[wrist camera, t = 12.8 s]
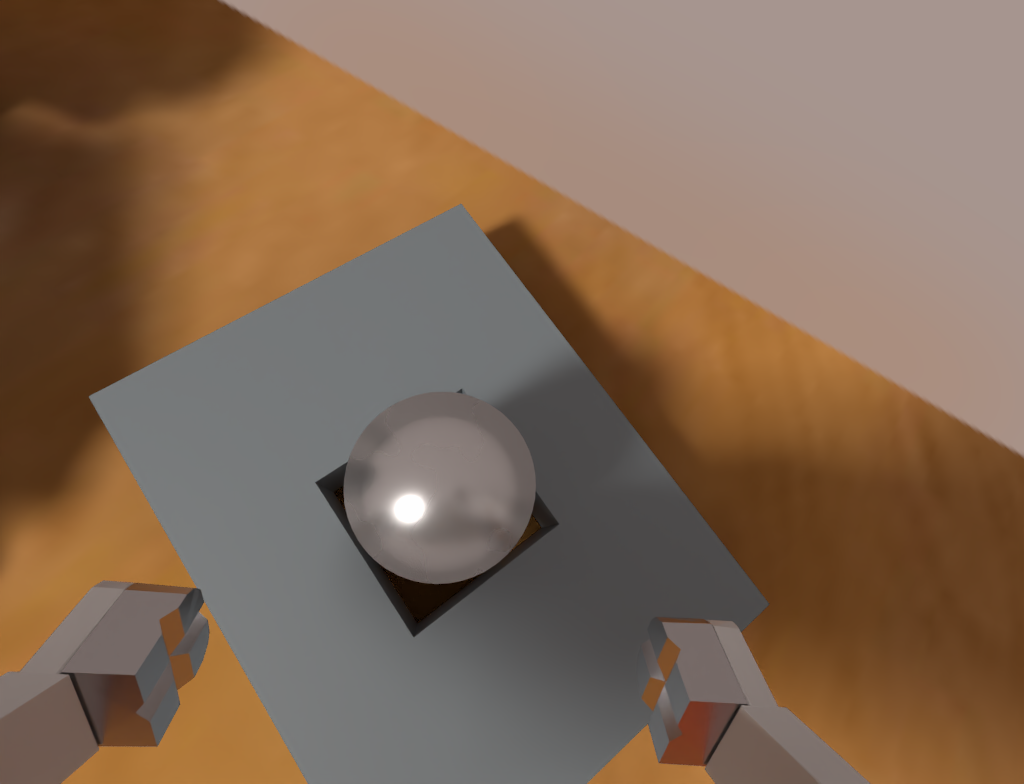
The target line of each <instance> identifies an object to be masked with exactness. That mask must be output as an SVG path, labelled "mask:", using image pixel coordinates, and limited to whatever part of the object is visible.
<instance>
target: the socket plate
mask: <svg viewBox="0 0 1024 784" xmlns="http://www.w3.org/2000/svg"><path fill="white" fill-rule="evenodd" d="M430 392H454V393H461V394H465V395H469V396H472V397H475V398H477V399H480V400H482V401H484V402H486V403H488V404H490V405H491V406H493V407H494V408H496V409H497V410H499V411H500V412H501V413H503V414H504V415H505V416H506V417H507V418H508V419H509V420H510V421H511V422H512V423H513V425H514V426H515V427H516V428H517V429H518V431H519V432H520V434H521V435H522V437H523V439H524V440H525V442H526V445H527V447H528V449H529V451H530V454H531V457H532V460H533V465H534V470H535V478H536V492H535V501H534V506H533V511H532V514H533V516H534V517H535V519H536V520H537V521H538V523H539V524H540V526H541V527H542V528H541V529H539V530H538V531H537V532H535V533H534V534H533V535H532V536H530V537H529V538H528V539H526V540H525V541H524V542H522V543H521V544H520V545H519V546H517V547H516V548H515V549H513V550H512V551H511V552H510V553H508V554H507V555H506V556H505V557H504V558H503V559H502V560H501V561H500V562H498V563H497V564H496V565H494V566H493V567H491V568H490V569H488V570H487V571H485V572H484V573H482V574H481V575H480V576H478V577H477V578H476V579H475V580H473V581H472V582H471V583H469V584H468V585H467V586H465V587H464V588H463V589H462V590H460V591H459V592H458V593H456V594H455V595H454V596H452V597H451V598H450V599H449V600H447V601H446V602H445V603H443V604H442V605H441V606H440V607H438V608H437V609H436V610H434V611H433V612H432V613H430V614H429V615H428V616H427V617H425V618H424V619H423V620H421V621H420V622H419V623H417V622H416V621H415V619H414V617H413V616H412V614H411V613H410V611H409V610H408V608H407V606H406V605H405V603H404V602H403V600H402V599H401V597H400V595H399V594H398V592H397V591H396V589H395V588H394V586H393V584H392V583H391V581H390V580H389V578H388V577H387V575H386V574H385V572H384V570H383V569H382V567H381V566H380V564H379V563H378V562H376V561H375V560H374V559H373V558H372V557H371V556H370V555H369V554H368V553H367V552H366V551H365V549H364V548H363V547H362V545H361V544H360V543H359V541H358V540H357V538H356V536H355V534H354V532H353V530H352V528H351V525H350V523H349V520H348V517H347V513H346V511H345V509H344V508H343V506H342V505H341V503H340V501H339V500H338V498H337V497H336V495H335V494H334V492H335V491H336V490H338V489H339V488H341V487H342V486H344V477H345V472H346V466H347V463H348V460H349V457H350V454H351V452H352V450H353V448H354V446H355V443H356V442H357V440H358V438H359V437H360V435H361V434H362V432H363V431H364V430H365V429H366V427H367V426H368V425H369V424H370V423H371V422H372V421H373V420H374V419H375V418H376V417H377V416H378V415H379V414H380V413H382V412H383V411H385V410H386V409H387V408H389V407H390V406H392V405H394V404H396V403H398V402H399V401H401V400H404V399H406V398H409V397H412V396H415V395H419V394H423V393H430ZM89 398H90V400H91V402H92V403H93V405H94V407H95V409H96V411H97V412H98V414H99V416H100V418H101V419H102V421H103V423H104V425H105V426H106V428H107V430H108V432H109V433H110V435H111V437H112V439H113V441H114V442H115V444H116V446H117V448H118V449H119V451H120V453H121V455H122V456H123V458H124V460H125V462H126V463H127V465H128V467H129V469H130V471H131V472H132V474H133V476H134V478H135V479H136V481H137V483H138V485H139V486H140V488H141V490H142V492H143V493H144V495H145V497H146V499H147V501H148V502H149V504H150V506H151V508H152V509H153V511H154V513H155V515H156V516H157V518H158V520H159V522H160V523H161V525H162V527H163V529H164V531H165V532H166V534H167V536H168V538H169V539H170V541H171V543H172V545H173V546H174V548H175V550H176V552H177V553H178V555H179V557H180V559H181V561H182V562H183V564H184V566H185V568H186V569H187V571H188V573H189V575H190V576H191V578H192V580H193V582H194V583H195V585H196V587H197V589H201V592H202V596H203V599H204V601H205V603H206V605H207V606H208V608H209V610H210V612H211V613H212V615H213V617H214V619H215V621H216V622H217V624H218V626H219V628H220V629H221V631H222V633H223V635H224V636H225V638H226V640H227V642H228V643H229V645H230V647H231V649H232V651H233V652H234V654H235V656H236V658H237V659H238V661H239V663H240V665H241V666H242V668H243V670H244V672H245V673H246V675H247V677H248V679H249V681H250V682H251V684H252V686H253V688H254V689H255V691H256V693H257V695H258V696H259V698H260V700H261V702H262V703H263V705H264V707H265V709H266V711H267V712H268V714H269V716H270V718H271V719H272V721H273V723H274V725H275V726H276V728H277V730H278V732H279V733H280V735H281V737H282V739H283V741H284V742H285V744H286V746H287V748H288V749H289V751H290V753H291V755H292V756H293V758H294V760H295V762H296V763H297V765H298V767H299V769H300V771H301V772H302V774H303V776H304V778H305V779H306V781H307V783H308V784H587V783H588V782H589V781H590V780H591V779H592V778H593V777H594V776H595V775H596V774H597V773H598V772H599V771H600V770H601V769H602V768H603V767H604V766H605V765H606V764H607V763H608V762H609V761H610V760H611V759H612V758H613V757H614V756H615V755H616V754H617V753H618V752H619V751H620V750H621V749H622V748H623V747H624V746H625V745H627V744H628V743H629V742H630V741H631V740H632V739H633V738H634V737H635V736H636V735H637V734H638V733H639V732H640V731H641V730H642V729H643V728H644V727H645V726H646V725H647V724H648V722H649V720H650V717H651V714H652V712H653V711H652V710H651V709H650V708H649V706H648V705H647V704H646V703H645V702H644V701H643V700H642V699H641V695H640V691H639V687H638V682H637V674H636V665H637V655H638V652H639V649H640V646H641V645H642V644H643V643H644V642H646V641H647V640H649V639H650V637H649V633H648V630H647V629H648V626H649V624H650V621H651V620H652V619H653V618H654V617H676V618H696V619H704V620H720V621H733V622H734V623H735V624H736V625H737V626H738V628H739V630H740V632H742V631H743V630H744V629H745V628H746V627H747V626H748V625H749V624H750V623H751V622H752V621H753V620H754V619H755V618H756V617H757V616H758V615H759V614H760V613H761V612H762V611H763V610H764V609H765V608H766V607H767V606H768V605H769V603H768V602H767V600H766V599H765V598H764V596H763V595H762V594H761V593H760V591H759V590H758V589H757V587H756V586H755V585H754V583H753V582H752V581H751V580H750V578H749V577H748V576H747V574H746V573H745V572H744V570H743V569H742V568H741V567H740V565H739V564H738V563H737V561H736V560H735V559H734V557H733V556H732V555H731V554H730V552H729V551H728V550H727V548H726V547H725V546H724V544H723V543H722V542H721V541H720V539H719V538H718V537H717V535H716V534H715V533H714V531H713V530H712V529H711V528H710V526H709V525H708V524H707V522H706V521H705V520H704V518H703V517H702V516H701V515H700V513H699V512H698V511H697V509H696V508H695V507H694V505H693V504H692V503H691V502H690V500H689V499H688V498H687V496H686V495H685V494H684V492H683V491H682V490H681V489H680V487H679V486H678V485H677V483H676V482H675V481H674V479H673V478H672V477H671V476H670V474H669V473H668V472H667V470H666V469H665V468H664V467H663V465H662V464H661V463H660V461H659V460H658V459H657V457H656V456H655V455H654V454H653V452H652V451H651V450H650V448H649V447H648V446H647V444H646V443H645V442H644V441H643V439H642V438H641V437H640V435H639V434H638V433H637V431H636V430H635V429H634V428H633V426H632V425H631V424H630V422H629V421H628V420H627V418H626V417H625V416H624V415H623V413H622V412H621V411H620V409H619V408H618V407H617V405H616V404H615V403H614V402H613V400H612V399H611V398H610V396H609V395H608V394H607V392H606V391H605V390H604V389H603V387H602V386H601V385H600V383H599V382H598V381H597V379H596V378H595V377H594V376H593V374H592V373H591V372H590V370H589V369H588V368H587V366H586V365H585V364H584V363H583V361H582V360H581V359H580V357H579V356H578V355H577V353H576V352H575V351H574V350H573V348H572V347H571V346H570V344H569V343H568V342H567V341H566V339H565V338H564V337H563V335H562V334H561V333H560V331H559V330H558V329H557V328H556V326H555V325H554V324H553V322H552V321H551V320H550V318H549V317H548V316H547V315H546V313H545V312H544V311H543V309H542V308H541V307H540V305H539V304H538V303H537V302H536V300H535V299H534V298H533V296H532V295H531V294H530V292H529V291H528V290H527V289H526V287H525V286H524V285H523V283H522V282H521V281H520V279H519V278H518V277H517V276H516V274H515V273H514V272H513V270H512V269H511V268H510V266H509V265H508V264H507V263H506V261H505V260H504V259H503V257H502V256H501V255H500V253H499V252H498V251H497V250H496V248H495V247H494V246H493V244H492V243H491V242H490V240H489V239H488V238H487V237H486V235H485V234H484V233H483V231H482V230H481V229H480V227H479V226H478V225H477V224H476V222H475V221H474V220H473V218H472V217H471V216H470V214H469V213H468V212H467V211H466V209H465V208H464V207H463V205H462V204H459V205H458V206H456V207H454V208H452V209H450V210H448V211H446V212H444V213H442V214H440V215H438V216H436V217H434V218H432V219H430V220H429V221H427V222H425V223H423V224H421V225H419V226H417V227H415V228H413V229H411V230H409V231H407V232H405V233H403V234H401V235H400V236H398V237H396V238H394V239H392V240H390V241H388V242H386V243H384V244H382V245H380V246H378V247H376V248H374V249H372V250H371V251H369V252H367V253H365V254H363V255H361V256H359V257H357V258H355V259H353V260H351V261H349V262H347V263H345V264H344V265H342V266H340V267H338V268H336V269H334V270H332V271H330V272H328V273H326V274H324V275H322V276H320V277H318V278H316V279H315V280H313V281H311V282H309V283H307V284H305V285H303V286H301V287H299V288H297V289H295V290H293V291H291V292H289V293H287V294H286V295H284V296H282V297H280V298H278V299H276V300H274V301H272V302H270V303H268V304H266V305H264V306H262V307H260V308H258V309H257V310H255V311H253V312H251V313H249V314H247V315H245V316H243V317H241V318H239V319H237V320H235V321H233V322H231V323H229V324H228V325H226V326H224V327H222V328H220V329H218V330H216V331H214V332H212V333H210V334H208V335H206V336H204V337H202V338H200V339H199V340H197V341H195V342H193V343H191V344H189V345H187V346H185V347H183V348H181V349H179V350H177V351H175V352H173V353H171V354H170V355H168V356H166V357H164V358H162V359H160V360H158V361H156V362H154V363H152V364H150V365H148V366H146V367H144V368H142V369H141V370H139V371H137V372H135V373H133V374H131V375H129V376H127V377H125V378H123V379H121V380H119V381H117V382H115V383H113V384H112V385H110V386H108V387H106V388H104V389H102V390H100V391H98V392H96V393H94V394H92V395H90V396H89Z"/></svg>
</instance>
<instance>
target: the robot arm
mask: <svg viewBox="0 0 1024 784" xmlns="http://www.w3.org/2000/svg"><path fill="white" fill-rule="evenodd" d="M203 603H204V599H203V596H202V592H201V589H197V588H187V587H176V586H165V585H154V584H143V583H130V582H117V581H102V582H100V583H99V584H97V585H95V586H94V587H92V588H91V589H90V590H89V591H88V592H87V594H86V595H85V596H84V597H83V598H82V599H81V601H80V602H79V603H78V604H77V605H76V606H75V608H74V609H73V610H72V611H71V612H70V613H69V615H68V616H67V617H66V618H65V619H64V620H63V622H62V623H61V624H60V625H59V626H58V627H57V629H56V630H55V631H54V632H53V633H52V634H51V636H50V637H49V638H48V639H47V640H46V641H45V643H44V644H43V645H42V646H41V647H40V648H39V650H38V651H37V652H36V653H35V654H34V655H33V657H32V658H31V659H30V660H29V661H28V662H27V664H26V665H25V666H24V667H23V668H22V669H21V671H20V672H7V673H6V674H4V675H2V676H0V784H61V783H62V782H63V781H64V780H65V779H66V778H67V777H69V776H70V775H71V774H72V773H73V772H74V771H76V770H77V769H78V768H79V767H80V766H81V765H82V764H84V763H85V762H86V761H87V760H88V759H89V758H90V757H92V756H93V755H94V754H95V753H96V752H97V751H98V750H99V747H98V746H138V747H157V746H158V745H159V743H160V741H161V739H162V737H163V735H164V733H165V731H166V730H167V728H168V726H169V724H170V722H171V720H172V718H173V717H174V715H175V713H176V711H177V709H178V707H179V705H180V701H179V696H178V691H177V690H178V689H180V688H181V687H182V686H184V685H185V684H186V683H188V682H189V681H190V680H192V679H193V678H194V677H195V675H196V673H197V671H198V669H199V667H200V665H201V663H202V661H203V658H204V655H205V652H206V648H207V645H208V640H209V625H208V620H207V619H206V618H205V617H204V616H203V615H202V614H200V613H199V610H200V608H201V607H202V605H203ZM647 630H648V633H649V637H650V639H649V640H647V641H646V642H644V643H643V644H642V645H641V646H640V649H639V652H638V655H637V665H636V674H637V682H638V687H639V691H640V695H641V699H642V700H643V701H644V702H645V703H646V704H647V705H648V706H649V708H650V709H651V710H652V711H653V712H652V714H651V717H650V720H649V722H648V725H649V729H650V733H651V736H652V740H653V744H654V747H655V751H656V755H657V758H658V762H659V763H663V764H678V765H694V766H706V767H705V770H706V772H707V773H708V774H709V776H710V777H711V778H712V779H713V781H714V782H715V783H716V784H870V783H869V782H868V781H867V780H866V779H865V778H864V777H863V776H861V775H860V774H859V773H858V772H857V771H856V770H855V769H854V768H853V767H852V766H850V765H849V764H848V763H847V762H846V761H845V760H844V759H843V758H842V757H840V756H839V755H838V754H837V753H836V752H835V751H834V750H833V749H832V748H831V747H829V746H828V745H827V744H826V743H825V742H824V741H823V740H822V739H821V738H820V737H818V736H817V735H816V734H815V733H814V732H813V731H812V730H811V729H810V728H808V727H807V726H806V725H805V724H804V723H803V722H802V721H801V720H800V719H799V718H797V717H796V716H795V715H794V714H793V713H792V712H791V711H790V710H789V709H787V708H786V707H778V705H777V703H776V701H775V699H774V697H773V695H772V693H771V691H770V689H769V687H768V685H767V683H766V681H765V679H764V677H763V675H762V673H761V671H760V669H759V667H758V665H757V663H756V661H755V659H754V657H753V655H752V653H751V651H750V649H749V647H748V646H747V644H746V642H745V640H744V638H743V636H742V634H741V632H740V630H739V628H738V626H737V625H736V624H735V623H734V622H733V621H720V620H704V619H696V618H676V617H654V618H653V619H652V620H651V621H650V624H649V626H648V629H647Z"/></svg>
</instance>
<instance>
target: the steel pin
mask: <svg viewBox="0 0 1024 784" xmlns="http://www.w3.org/2000/svg"><path fill="white" fill-rule="evenodd" d="M535 492H536V478H535V470H534V465H533V460H532V457H531V454H530V451H529V449H528V447H527V445H526V442H525V440H524V439H523V437H522V435H521V434H520V432H519V431H518V429H517V428H516V427H515V426H514V425H513V423H512V422H511V421H510V420H509V419H508V418H507V417H506V416H505V415H504V414H503V413H501V412H500V411H499V410H497V409H496V408H494V407H493V406H491V405H490V404H488V403H486V402H484V401H482V400H480V399H477V398H475V397H472V396H469V395H465V394H461V393H454V392H430V393H423V394H419V395H415V396H412V397H409V398H406V399H404V400H401V401H399V402H398V403H396V404H394V405H392V406H390V407H389V408H387V409H386V410H385V411H383V412H382V413H380V414H379V415H378V416H377V417H376V418H375V419H374V420H373V421H372V422H371V423H370V424H369V425H368V426H367V427H366V429H365V430H364V431H363V432H362V434H361V435H360V437H359V438H358V440H357V442H356V443H355V446H354V448H353V450H352V452H351V454H350V457H349V460H348V463H347V466H346V472H345V477H344V504H345V509H346V513H347V517H348V520H349V523H350V525H351V528H352V530H353V532H354V534H355V536H356V538H357V540H358V541H359V543H360V544H361V545H362V547H363V548H364V549H365V551H366V552H367V553H368V554H369V555H370V556H371V557H372V558H373V559H374V560H375V561H376V562H378V563H379V564H380V565H381V566H383V567H384V568H385V569H387V570H389V571H391V572H393V573H394V574H396V575H398V576H401V577H403V578H406V579H409V580H412V581H417V582H421V583H430V584H445V583H453V582H458V581H463V580H466V579H469V578H472V577H475V576H477V575H479V574H481V573H483V572H485V571H487V570H488V569H490V568H491V567H493V566H494V565H496V564H497V563H498V562H500V561H501V560H502V559H503V558H504V557H505V556H506V555H507V554H508V553H509V552H510V551H511V550H512V549H513V547H514V546H515V545H516V544H517V542H518V541H519V539H520V538H521V536H522V535H523V533H524V531H525V529H526V527H527V525H528V523H529V520H530V517H531V514H532V511H533V506H534V501H535Z"/></svg>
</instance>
